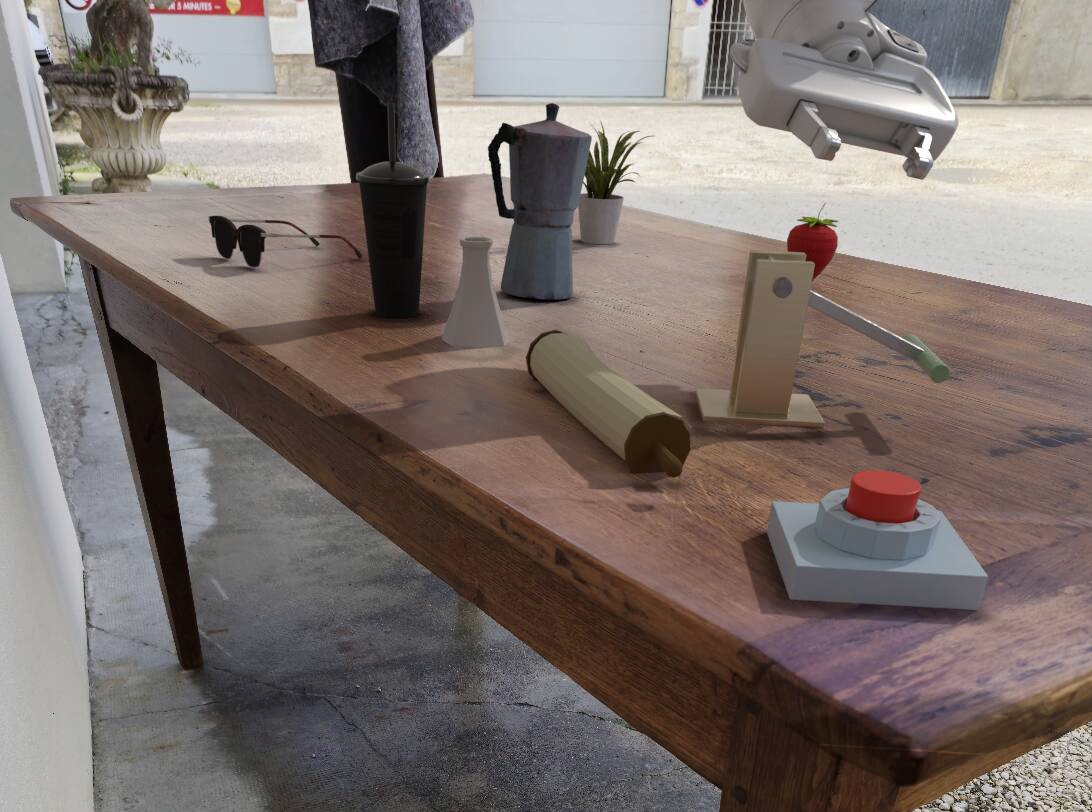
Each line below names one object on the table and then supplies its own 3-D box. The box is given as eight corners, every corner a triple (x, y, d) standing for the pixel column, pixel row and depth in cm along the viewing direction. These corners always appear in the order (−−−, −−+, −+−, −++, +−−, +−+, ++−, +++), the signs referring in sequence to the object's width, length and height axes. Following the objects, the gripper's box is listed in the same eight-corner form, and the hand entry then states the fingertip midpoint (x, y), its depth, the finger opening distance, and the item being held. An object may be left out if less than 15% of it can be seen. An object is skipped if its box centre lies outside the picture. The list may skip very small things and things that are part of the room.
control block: (932, 541, 69) (948, 483, 67) (978, 610, 61) (998, 547, 58) (766, 532, 69) (776, 474, 67) (789, 600, 61) (802, 536, 59)
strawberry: (806, 280, 142) (821, 198, 136) (839, 292, 136) (856, 206, 130) (769, 282, 140) (783, 198, 134) (801, 293, 134) (816, 207, 128)
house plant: (657, 238, 166) (669, 118, 156) (645, 252, 154) (657, 124, 145) (569, 231, 168) (576, 113, 159) (551, 244, 157) (557, 118, 147)
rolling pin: (513, 376, 97) (515, 320, 95) (570, 374, 99) (573, 318, 96) (637, 504, 72) (644, 433, 69) (710, 499, 74) (720, 428, 71)
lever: (907, 359, 91) (924, 333, 90) (938, 391, 83) (957, 363, 81) (747, 275, 88) (762, 247, 86) (763, 301, 80) (780, 270, 78)
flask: (443, 356, 102) (442, 245, 96) (436, 338, 108) (435, 232, 102) (515, 356, 103) (519, 246, 98) (505, 338, 109) (508, 233, 103)
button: (903, 504, 64) (911, 472, 63) (920, 529, 61) (929, 496, 60) (839, 500, 65) (846, 468, 63) (852, 525, 61) (859, 492, 60)
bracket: (805, 407, 93) (835, 251, 85) (822, 436, 86) (855, 269, 79) (693, 401, 93) (713, 244, 86) (701, 430, 86) (723, 262, 79)
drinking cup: (438, 308, 119) (436, 103, 108) (421, 323, 113) (417, 107, 102) (374, 303, 120) (365, 99, 109) (353, 317, 114) (342, 103, 102)
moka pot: (606, 294, 129) (620, 105, 118) (520, 311, 120) (526, 107, 108) (550, 281, 134) (558, 99, 123) (463, 296, 125) (463, 101, 113)
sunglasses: (210, 254, 140) (207, 213, 137) (313, 252, 150) (312, 213, 147) (263, 272, 132) (261, 228, 129) (368, 268, 142) (369, 227, 139)
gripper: (742, -2, 87) (790, 101, 81) (938, 49, 94) (995, 147, 88) (708, 74, 92) (751, 176, 86) (896, 117, 99) (948, 213, 93)
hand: (876, 161), depth 87 cm, fingers open, 8 cm apart
